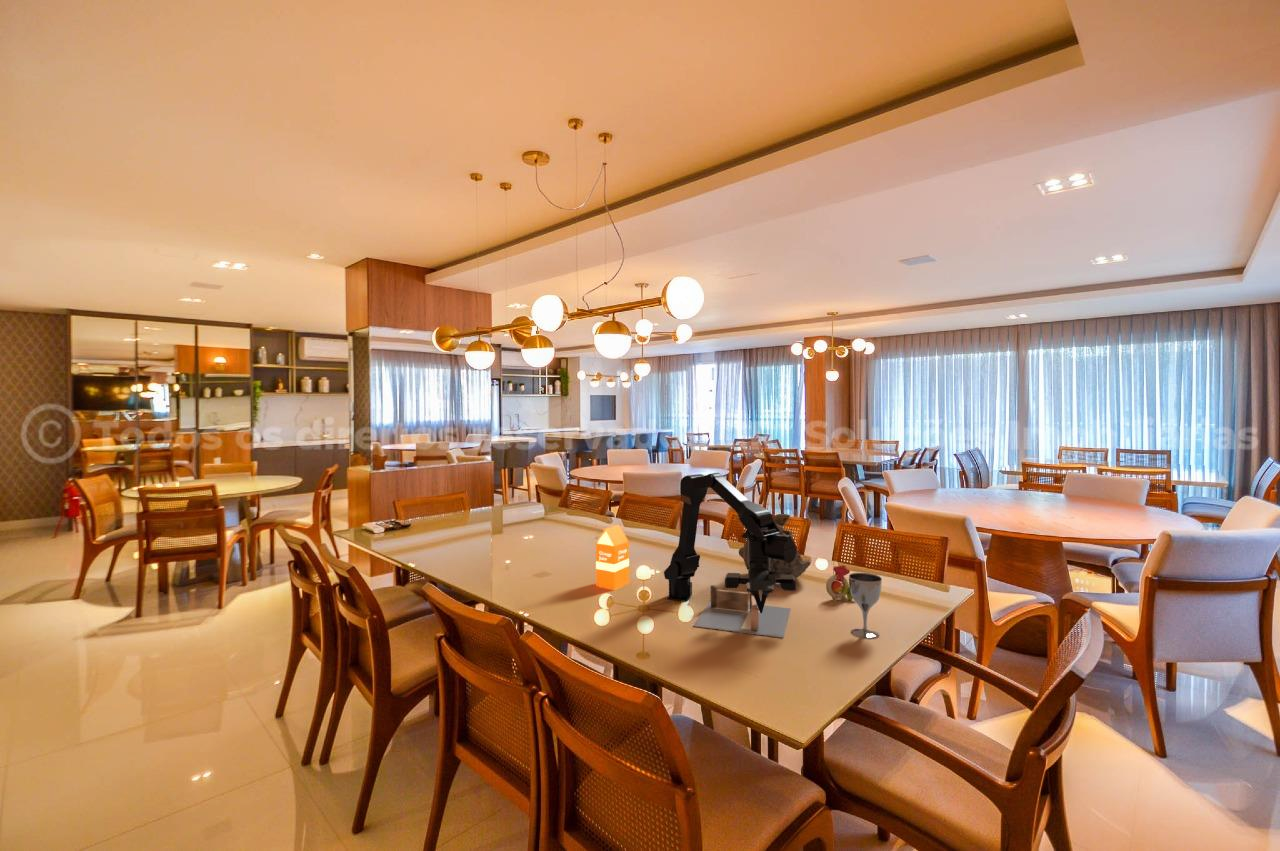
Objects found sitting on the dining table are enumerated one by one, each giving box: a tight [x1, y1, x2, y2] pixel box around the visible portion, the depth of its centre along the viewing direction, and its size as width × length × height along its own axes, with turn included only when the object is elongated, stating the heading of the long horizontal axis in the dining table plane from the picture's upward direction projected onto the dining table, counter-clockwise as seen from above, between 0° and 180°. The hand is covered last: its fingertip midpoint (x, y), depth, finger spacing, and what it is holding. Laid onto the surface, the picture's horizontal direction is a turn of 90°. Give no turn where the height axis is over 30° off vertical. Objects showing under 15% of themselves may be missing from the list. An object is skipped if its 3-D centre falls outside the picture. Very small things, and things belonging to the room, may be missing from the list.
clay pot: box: [738, 513, 812, 580], centre depth 194 cm, size 25×24×22 cm
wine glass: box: [848, 572, 882, 640], centre depth 147 cm, size 8×8×15 cm
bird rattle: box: [825, 565, 854, 601], centre depth 173 cm, size 6×11×9 cm
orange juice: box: [595, 523, 630, 591], centre depth 190 cm, size 8×9×20 cm
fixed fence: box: [710, 585, 757, 612], centre depth 165 cm, size 14×2×6 cm, turn 70°
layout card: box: [692, 599, 791, 639], centre depth 159 cm, size 24×22×1 cm
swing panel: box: [751, 595, 759, 630], centre depth 155 cm, size 13×2×5 cm, turn 170°
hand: (761, 612), depth 152 cm, fingers closed
